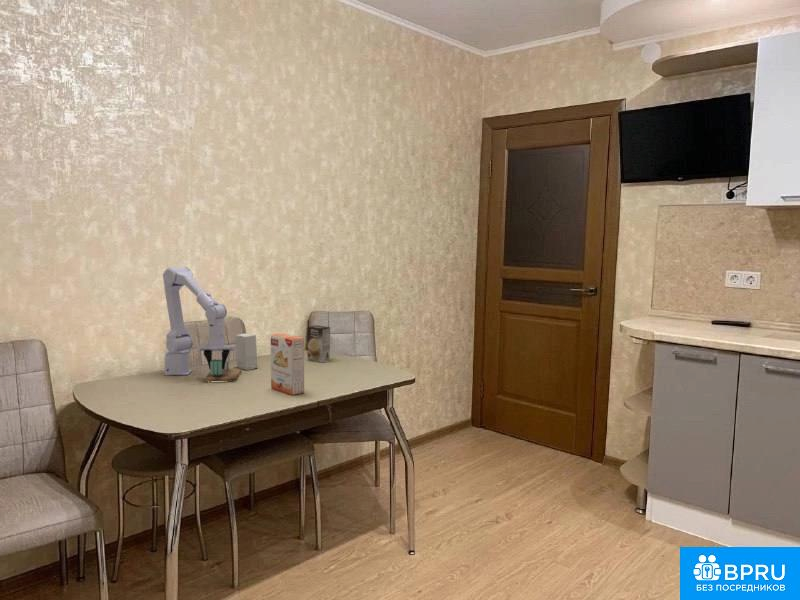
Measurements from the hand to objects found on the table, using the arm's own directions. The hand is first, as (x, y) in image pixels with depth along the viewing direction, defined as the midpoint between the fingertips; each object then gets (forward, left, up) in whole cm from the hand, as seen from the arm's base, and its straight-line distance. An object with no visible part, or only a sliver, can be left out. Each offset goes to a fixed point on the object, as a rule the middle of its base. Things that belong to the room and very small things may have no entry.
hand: (216, 368), depth 251 cm
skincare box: (+9, +21, -5) cm, 23 cm away
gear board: (+2, +4, -4) cm, 6 cm away
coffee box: (+40, +36, -5) cm, 54 cm away
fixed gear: (0, +9, -3) cm, 9 cm away
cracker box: (+29, -20, -5) cm, 36 cm away
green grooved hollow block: (0, 0, -2) cm, 2 cm away
